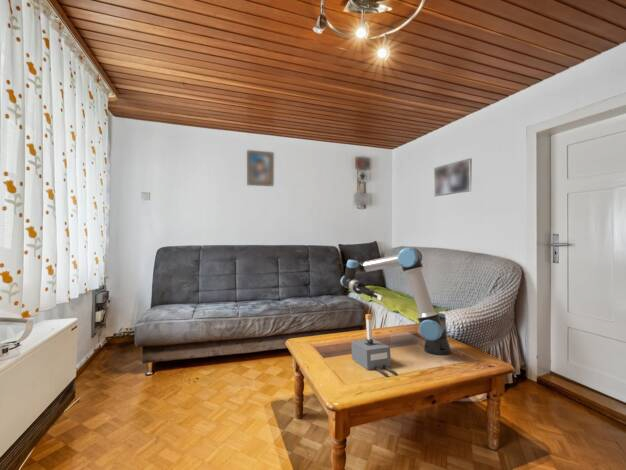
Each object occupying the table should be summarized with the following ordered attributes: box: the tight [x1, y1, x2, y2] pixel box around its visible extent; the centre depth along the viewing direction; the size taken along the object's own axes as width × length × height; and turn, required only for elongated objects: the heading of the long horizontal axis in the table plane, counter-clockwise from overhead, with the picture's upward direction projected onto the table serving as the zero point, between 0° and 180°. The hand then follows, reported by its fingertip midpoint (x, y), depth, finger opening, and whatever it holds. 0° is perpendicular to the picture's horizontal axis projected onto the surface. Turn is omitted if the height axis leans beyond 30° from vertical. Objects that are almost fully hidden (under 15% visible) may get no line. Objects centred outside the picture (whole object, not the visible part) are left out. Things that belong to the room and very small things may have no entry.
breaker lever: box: [365, 313, 373, 344], centre depth 159 cm, size 4×2×15 cm, turn 19°
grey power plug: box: [350, 338, 398, 377], centre depth 152 cm, size 29×14×10 cm, turn 19°
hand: (381, 298), depth 164 cm, fingers closed
